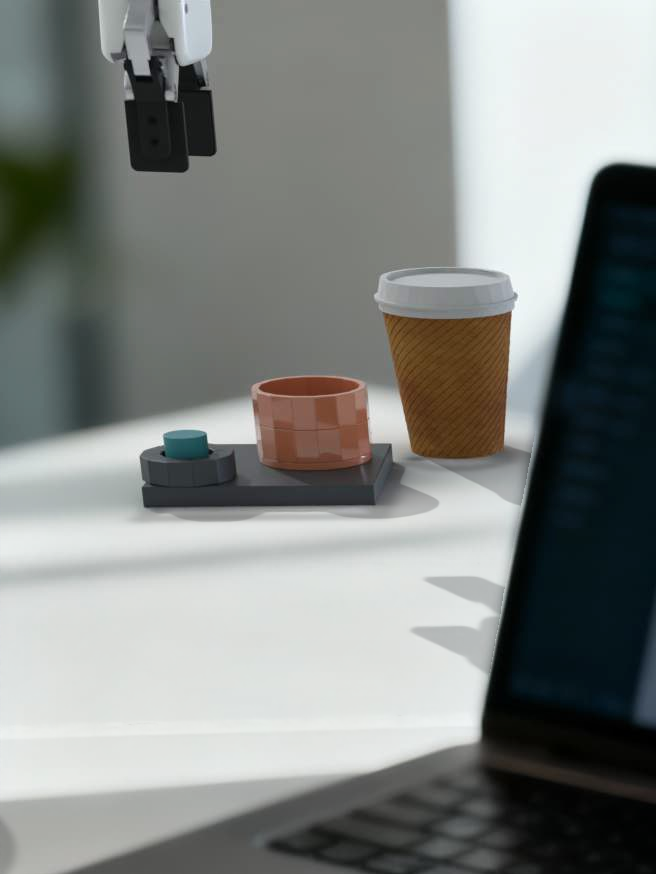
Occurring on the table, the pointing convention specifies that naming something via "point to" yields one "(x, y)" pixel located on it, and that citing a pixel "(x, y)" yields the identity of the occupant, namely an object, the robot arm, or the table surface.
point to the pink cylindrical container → (312, 422)
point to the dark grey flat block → (256, 480)
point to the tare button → (186, 444)
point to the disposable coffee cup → (450, 356)
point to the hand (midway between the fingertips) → (175, 163)
